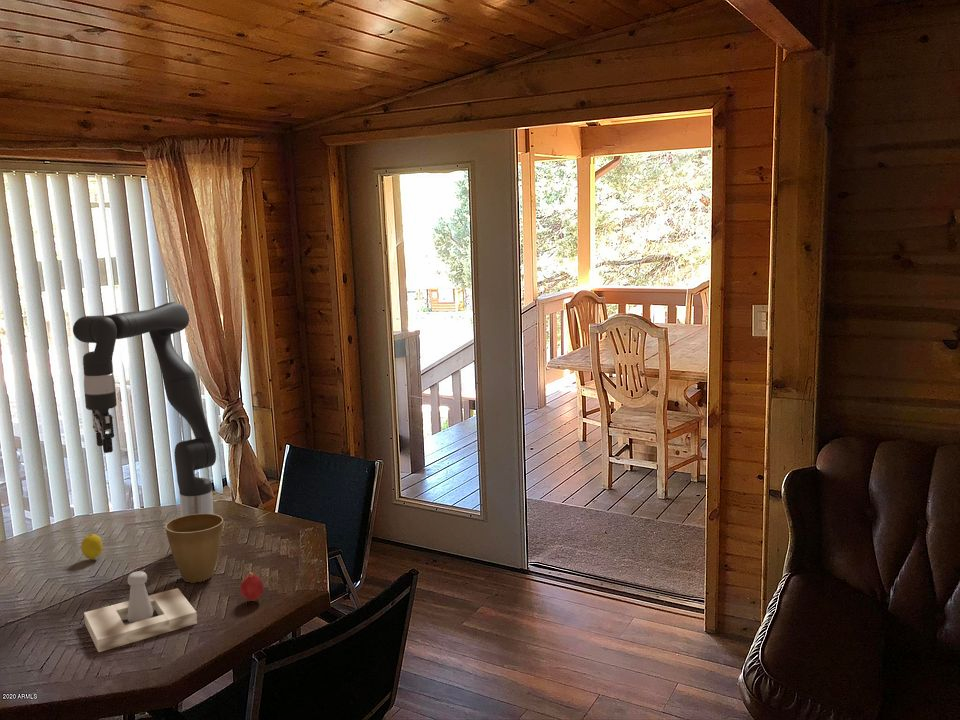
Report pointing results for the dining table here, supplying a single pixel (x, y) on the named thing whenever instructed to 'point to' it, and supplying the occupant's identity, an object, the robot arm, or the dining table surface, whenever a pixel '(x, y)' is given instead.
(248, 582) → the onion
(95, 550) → the lemon
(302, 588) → the dining table surface
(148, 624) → the hole board
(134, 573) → the salt shaker
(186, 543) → the plant pot
